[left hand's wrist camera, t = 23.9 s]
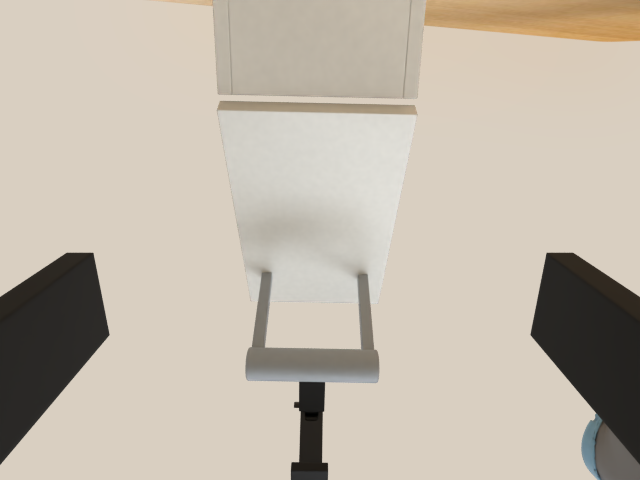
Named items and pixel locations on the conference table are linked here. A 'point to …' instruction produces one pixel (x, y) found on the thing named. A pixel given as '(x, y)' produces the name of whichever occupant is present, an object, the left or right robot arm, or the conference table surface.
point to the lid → (315, 218)
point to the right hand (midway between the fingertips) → (311, 402)
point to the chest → (319, 47)
